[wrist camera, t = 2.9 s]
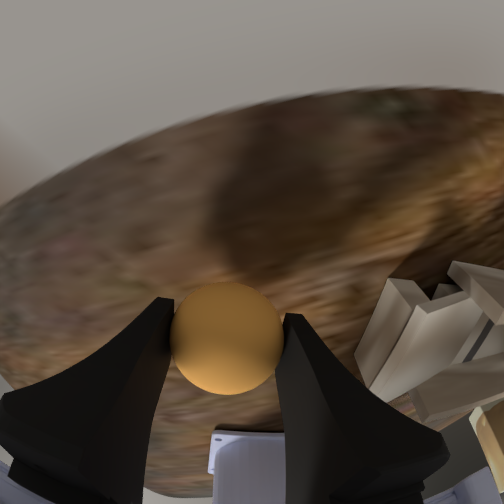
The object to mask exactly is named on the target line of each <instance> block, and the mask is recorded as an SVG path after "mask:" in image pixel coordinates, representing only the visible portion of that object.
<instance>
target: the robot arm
mask: <svg viewBox="0 0 504 504" xmlns="http://www.w3.org/2000/svg"><path fill="white" fill-rule="evenodd" d="M173 316H174V299H168V298H161V297H157V298H156V299H155V300H154V301H153V302H152V303H151V304H150V305H149V306H148V307H147V308H146V309H145V310H144V311H143V312H142V313H141V314H140V315H139V316H138V317H137V318H135V319H134V320H133V321H132V322H131V323H130V324H129V325H128V326H127V327H126V328H125V329H123V330H122V331H121V332H120V333H119V334H117V335H116V336H115V337H114V338H113V339H111V340H110V341H109V342H108V343H107V344H105V345H104V346H103V347H101V348H100V349H99V350H97V351H96V352H94V353H93V354H91V355H90V356H88V357H87V358H85V359H84V360H82V361H80V362H79V363H77V364H75V365H73V366H72V367H70V368H68V369H66V370H64V371H63V372H61V373H59V374H56V375H54V376H52V377H50V378H48V379H45V380H43V381H41V382H38V383H36V384H33V385H30V386H27V387H24V388H21V389H18V390H14V391H12V392H8V393H4V395H3V396H2V398H1V400H0V445H1V446H2V447H3V448H4V449H5V450H6V451H7V452H8V453H9V454H10V455H11V456H12V457H13V458H14V459H13V462H12V464H11V467H10V466H8V465H6V464H5V463H3V462H2V461H0V504H142V499H143V498H142V497H143V485H144V475H145V466H146V458H147V451H148V444H149V438H150V432H151V426H152V421H153V417H154V413H155V409H156V406H157V403H158V400H159V396H160V393H161V390H162V387H163V384H164V381H165V378H166V374H167V371H168V368H169V365H170V361H171V356H172V353H171V349H170V343H169V333H170V326H171V322H172V319H173ZM282 326H283V331H284V347H283V352H282V356H281V359H280V361H279V363H278V365H277V367H276V368H275V376H276V383H277V389H278V395H279V401H280V407H281V413H282V419H283V425H284V433H259V432H239V431H226V430H214V431H213V432H212V438H211V447H210V456H209V465H208V473H210V474H214V482H213V504H503V503H502V500H501V498H500V495H499V492H498V489H497V487H496V484H495V482H494V479H493V478H492V475H491V472H490V470H489V467H484V468H483V469H481V470H479V471H477V472H476V473H474V474H472V475H470V476H468V477H467V478H465V479H464V480H462V481H461V482H459V483H458V484H456V485H455V486H454V487H452V488H451V489H448V490H446V491H444V492H442V493H439V494H437V495H435V496H432V497H430V498H428V499H425V500H423V499H422V496H421V493H420V492H421V491H423V490H424V489H425V486H424V483H423V480H424V479H426V478H427V477H429V476H430V475H431V474H433V473H434V472H436V471H437V470H438V469H440V468H441V467H442V466H443V465H444V464H445V463H446V462H447V461H448V460H449V457H450V453H449V450H448V448H447V446H446V443H445V441H444V439H443V437H442V435H441V433H439V432H437V431H435V430H433V429H430V428H428V427H426V426H424V425H422V424H420V423H418V422H416V421H414V420H412V419H411V418H409V417H407V416H405V415H404V414H402V413H400V412H399V411H397V410H396V409H394V408H393V407H391V406H390V405H388V404H387V403H386V402H384V401H383V400H382V399H380V398H379V397H377V396H376V395H375V394H374V393H372V392H371V391H370V390H369V389H368V388H366V387H365V386H364V385H363V384H362V383H361V382H360V381H359V380H358V379H356V378H355V377H354V376H353V375H352V374H351V373H350V372H349V371H348V370H347V369H346V368H345V367H344V365H343V364H342V363H341V362H340V361H339V360H338V359H337V358H336V357H335V356H334V354H333V353H332V352H331V351H330V350H329V348H328V347H327V346H326V345H325V344H324V342H323V341H322V340H321V339H320V337H319V336H318V335H317V333H316V332H315V331H314V329H313V328H312V327H311V325H310V324H309V323H308V321H307V320H306V319H305V317H304V316H303V315H302V314H294V313H286V314H285V318H284V321H283V325H282Z"/></svg>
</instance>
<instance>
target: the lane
mask: <svg viewBox="0 0 504 504" xmlns="http://www.w3.org/2000/svg"><path fill="white" fill-rule="evenodd" d="M447 275H448V276H450V277H451V278H452V279H453V280H454V281H455V282H456V283H457V284H458V285H459V286H460V287H461V288H462V289H463V290H464V291H463V290H462V289H461V288H460V287H459V286H458V285H450V284H440V283H439V284H438V286H437V289H436V291H435V293H434V295H433V297H432V299H431V301H430V300H429V298H428V297H427V296H426V295H425V294H424V292H423V291H422V290H421V289H420V288H419V287H418V285H417V284H416V283H415V282H414V281H413V280H404V279H395V278H388V279H387V281H386V284H385V286H384V289H383V291H382V294H381V296H380V299H379V301H378V303H377V306H376V308H375V310H374V312H373V315H372V317H371V319H370V321H369V324H368V326H367V328H366V330H365V332H364V334H363V336H362V338H361V341H360V343H359V345H358V347H357V349H356V351H355V353H354V357H355V359H356V362H357V364H358V367H359V370H360V372H361V375H362V377H363V380H364V383H365V385H366V388H368V389H369V390H370V391H371V392H372V393H374V394H375V395H376V396H377V397H379V398H380V399H382V400H383V401H384V402H386V403H387V402H389V401H391V400H393V399H395V398H397V397H398V396H400V395H402V394H404V393H406V392H408V393H409V396H410V398H411V400H412V402H413V404H414V406H415V409H416V411H417V413H418V415H419V418H420V420H421V422H422V423H426V422H430V421H434V420H437V419H441V418H445V417H448V416H452V415H455V414H458V413H461V412H465V411H468V410H471V409H473V408H476V407H479V406H482V405H485V404H487V403H490V402H493V401H495V400H498V399H500V398H502V397H504V270H501V269H496V268H490V267H485V266H480V265H474V264H469V263H464V262H458V261H453V260H452V263H451V265H450V268H449V270H448V272H447Z"/></svg>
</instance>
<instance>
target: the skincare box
mask: <svg viewBox="0 0 504 504" xmlns="http://www.w3.org/2000/svg"><path fill="white" fill-rule="evenodd" d="M469 420H470V422H471V424H472V426H473V428H474V430H475V433H476V435H477V437H478V439H479V442H480V444H481V446H482V449H483V451H484V453H485V456H486V458H487V461H488V463H489V465H490V468H491V471H492V474H493V476H494V479H495V482H496V484H497V487H498V490H499V493H502V492H504V397H502V398H500V399H498V400H495V401H493V402H490V403H487V404H485V405H482V406H479V407H476V408H475V409H474V411H473V413H472V414H471V416H470V418H469Z"/></svg>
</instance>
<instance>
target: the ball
mask: <svg viewBox="0 0 504 504" xmlns="http://www.w3.org/2000/svg"><path fill="white" fill-rule="evenodd" d="M169 343H170V349H171V353H172V356H173V359H174V361H175V363H176V365H177V367H178V368H179V370H180V371H181V372H182V374H183V375H184V376H185V377H186V378H187V379H188V380H189V381H191V382H192V383H193V384H195V385H196V386H198V387H200V388H202V389H204V390H206V391H209V392H212V393H216V394H225V395H231V394H239V393H243V392H246V391H249V390H251V389H253V388H255V387H257V386H258V385H260V384H261V383H263V382H264V381H265V380H266V379H267V378H268V377H269V376H270V375H271V374H272V373H273V372H274V370H275V368H276V367H277V365H278V363H279V361H280V359H281V356H282V352H283V347H284V331H283V326H282V322H281V319H280V317H279V315H278V313H277V311H276V309H275V308H274V306H273V305H272V304H271V302H270V301H269V300H268V299H267V298H266V297H265V296H264V295H262V294H261V293H260V292H258V291H256V290H255V289H253V288H251V287H249V286H246V285H243V284H240V283H234V282H218V283H212V284H209V285H206V286H204V287H201V288H199V289H197V290H196V291H194V292H193V293H191V294H190V295H189V296H188V297H186V298H185V299H184V301H183V302H182V303H181V304H180V306H179V307H178V309H177V310H176V312H175V314H174V316H173V319H172V322H171V326H170V333H169Z"/></svg>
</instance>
